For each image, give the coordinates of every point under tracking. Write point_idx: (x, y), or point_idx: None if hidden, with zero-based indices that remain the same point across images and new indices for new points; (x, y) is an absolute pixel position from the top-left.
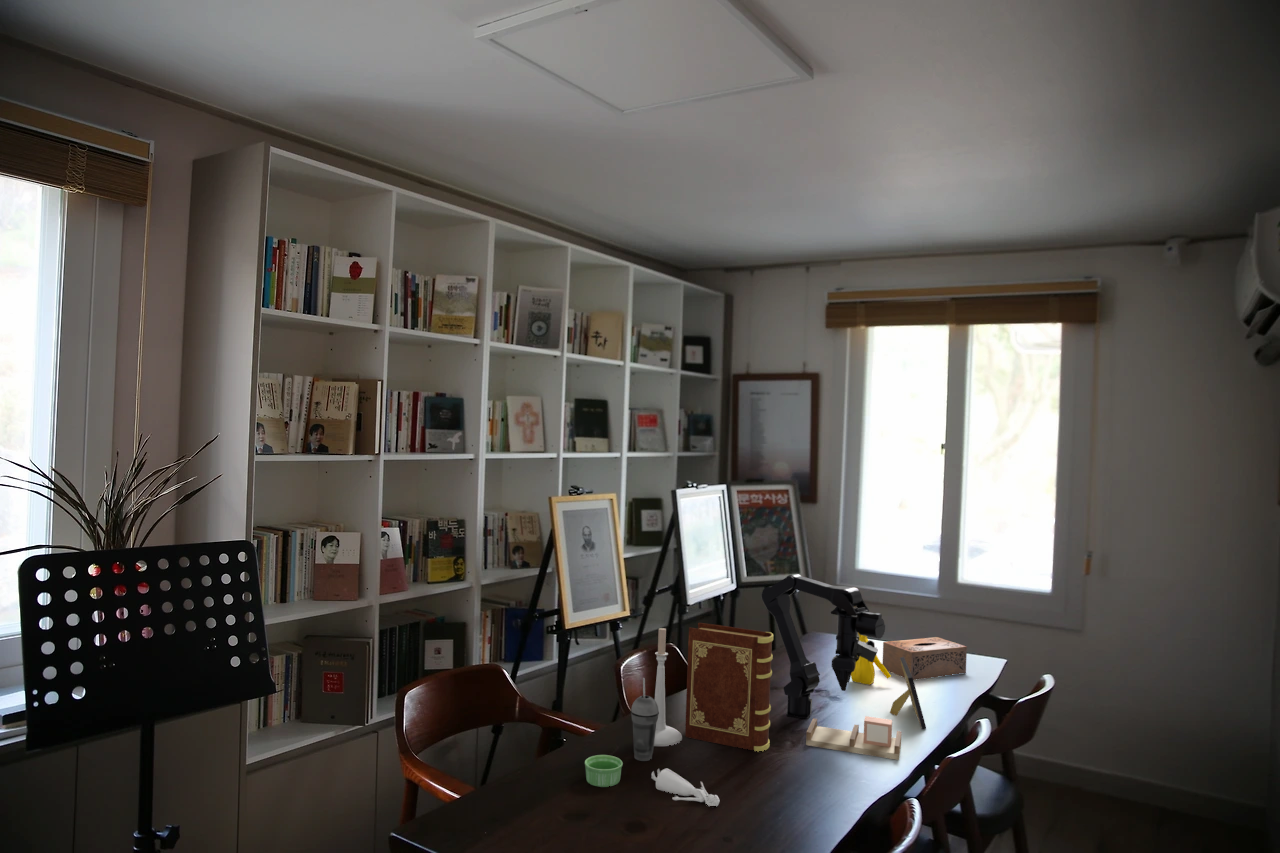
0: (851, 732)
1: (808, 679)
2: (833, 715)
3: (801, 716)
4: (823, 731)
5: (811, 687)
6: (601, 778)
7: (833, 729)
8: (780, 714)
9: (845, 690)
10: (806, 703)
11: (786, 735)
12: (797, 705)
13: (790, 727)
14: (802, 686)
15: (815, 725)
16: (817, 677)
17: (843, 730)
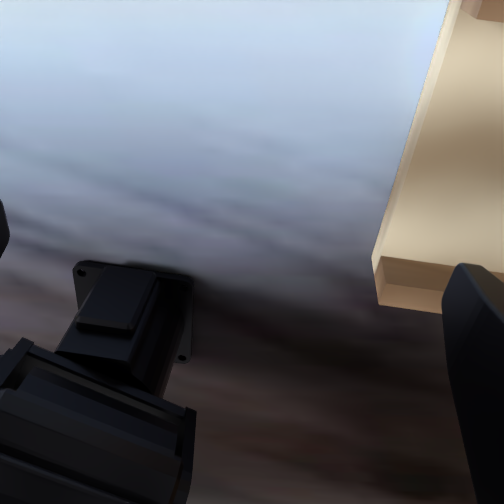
0: (481, 31)
1: (141, 501)
2: (42, 140)
3: (190, 307)
4: (479, 224)
5: (121, 412)
6: None
7: (432, 165)
8: (176, 372)
9: (484, 268)
10: (144, 336)
11: None
12: (172, 364)
13: (346, 344)
14: (190, 476)
15: None
16: (6, 438)
17: (443, 95)
